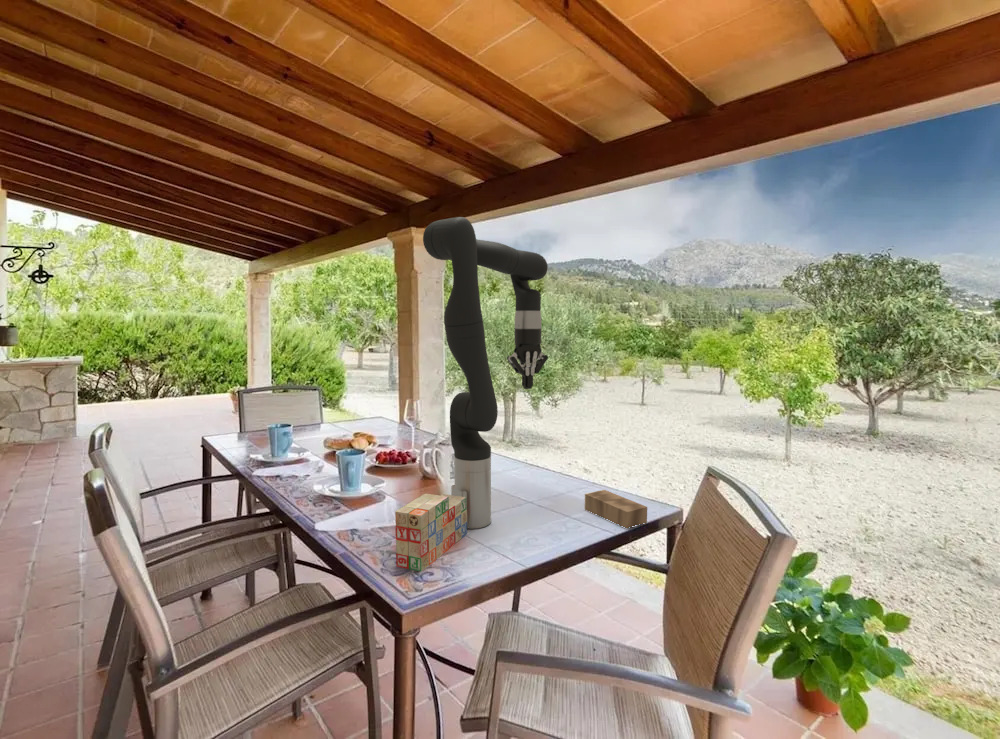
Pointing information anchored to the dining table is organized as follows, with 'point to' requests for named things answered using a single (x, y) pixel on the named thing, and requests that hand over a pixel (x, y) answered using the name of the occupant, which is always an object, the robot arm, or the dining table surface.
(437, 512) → the stack of blocks
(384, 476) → the dining table surface
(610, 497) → the walnut block
